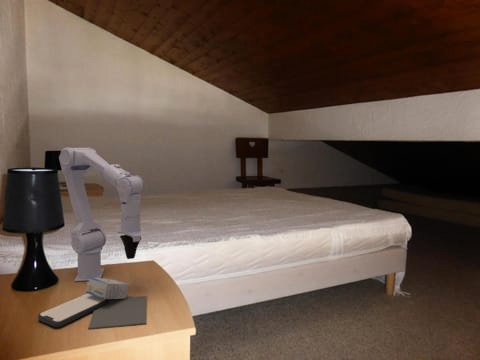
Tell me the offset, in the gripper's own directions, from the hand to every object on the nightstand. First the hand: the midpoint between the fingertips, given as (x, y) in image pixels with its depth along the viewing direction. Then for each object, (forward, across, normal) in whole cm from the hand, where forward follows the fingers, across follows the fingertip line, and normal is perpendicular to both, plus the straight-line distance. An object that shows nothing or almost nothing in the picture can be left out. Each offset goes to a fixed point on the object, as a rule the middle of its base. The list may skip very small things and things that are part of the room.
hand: (130, 258), depth 111 cm
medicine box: (+8, +3, -4) cm, 9 cm away
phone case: (+10, +8, -17) cm, 21 cm away
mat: (+10, +13, -6) cm, 18 cm away
